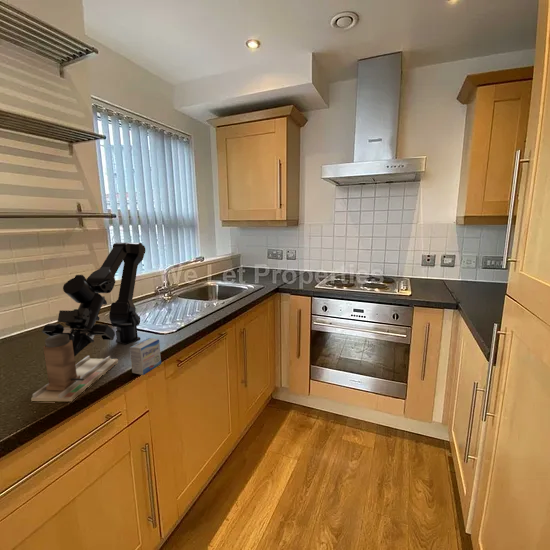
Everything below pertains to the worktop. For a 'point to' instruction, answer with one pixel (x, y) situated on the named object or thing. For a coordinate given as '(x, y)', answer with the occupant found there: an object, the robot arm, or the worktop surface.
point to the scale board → (87, 371)
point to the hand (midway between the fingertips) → (67, 360)
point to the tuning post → (60, 362)
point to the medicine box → (145, 356)
